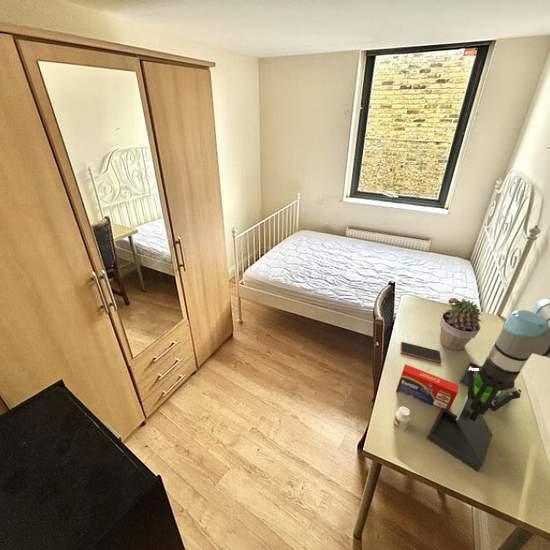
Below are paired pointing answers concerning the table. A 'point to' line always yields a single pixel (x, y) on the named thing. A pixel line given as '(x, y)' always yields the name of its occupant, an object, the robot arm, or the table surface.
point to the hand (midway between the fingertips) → (472, 417)
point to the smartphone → (420, 352)
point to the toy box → (427, 387)
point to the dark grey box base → (452, 438)
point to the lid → (474, 431)
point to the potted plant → (459, 324)
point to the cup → (487, 391)
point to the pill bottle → (402, 418)
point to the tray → (466, 378)
